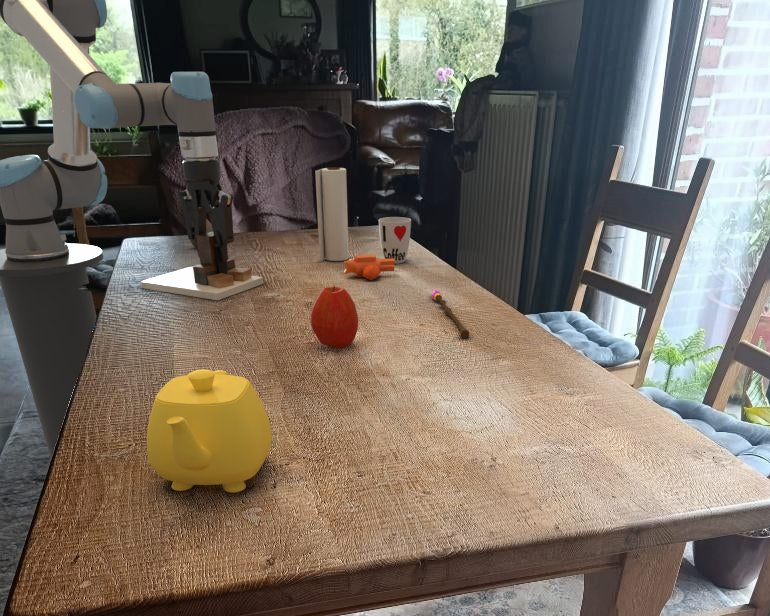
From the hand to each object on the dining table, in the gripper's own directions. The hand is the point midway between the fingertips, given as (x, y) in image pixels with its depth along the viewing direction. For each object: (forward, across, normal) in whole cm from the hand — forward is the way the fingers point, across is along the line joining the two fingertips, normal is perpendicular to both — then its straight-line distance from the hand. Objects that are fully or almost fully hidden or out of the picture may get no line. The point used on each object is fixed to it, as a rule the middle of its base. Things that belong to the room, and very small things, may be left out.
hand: (215, 274), depth 159 cm
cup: (+3, +24, +41) cm, 48 cm away
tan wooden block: (+1, +4, +3) cm, 5 cm away
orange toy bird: (+3, +27, +23) cm, 35 cm away
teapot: (+3, +59, -70) cm, 91 cm away
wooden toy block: (+1, 0, 0) cm, 1 cm away
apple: (+3, +46, -22) cm, 51 cm away
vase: (+3, -31, +31) cm, 44 cm away
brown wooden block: (+1, +4, -3) cm, 5 cm away
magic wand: (+3, +56, +4) cm, 56 cm away
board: (+3, -3, -1) cm, 4 cm away
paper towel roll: (+3, +9, +36) cm, 37 cm away
